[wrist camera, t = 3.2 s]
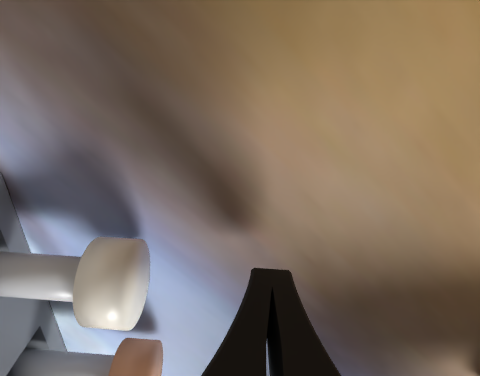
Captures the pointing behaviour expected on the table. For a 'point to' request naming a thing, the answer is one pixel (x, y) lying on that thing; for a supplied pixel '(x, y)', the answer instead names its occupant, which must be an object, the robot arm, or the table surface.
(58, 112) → the table surface
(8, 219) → the mount
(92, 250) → the knob ivory
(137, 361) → the knob rust
